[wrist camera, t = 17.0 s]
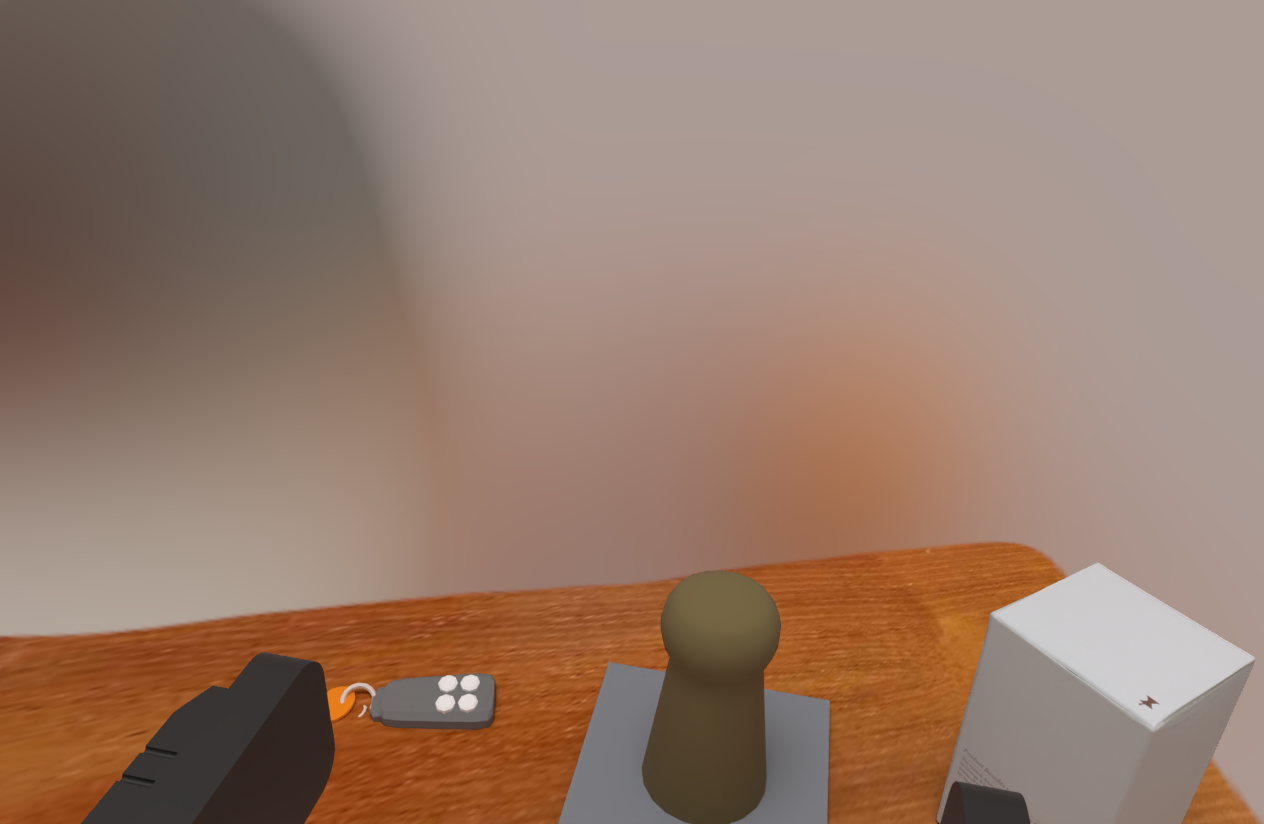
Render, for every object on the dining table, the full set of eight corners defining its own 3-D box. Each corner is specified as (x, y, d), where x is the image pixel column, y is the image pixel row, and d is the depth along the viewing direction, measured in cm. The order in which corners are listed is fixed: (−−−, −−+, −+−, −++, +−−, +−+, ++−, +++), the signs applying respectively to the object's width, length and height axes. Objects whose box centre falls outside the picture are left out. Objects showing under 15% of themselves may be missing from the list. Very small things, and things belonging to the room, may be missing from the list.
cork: (763, 729, 48) (789, 556, 43) (770, 831, 43) (801, 648, 38) (644, 720, 48) (656, 546, 43) (637, 820, 43) (650, 637, 38)
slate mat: (549, 859, 42) (549, 850, 42) (608, 670, 52) (609, 662, 52) (823, 916, 40) (825, 907, 40) (828, 708, 50) (830, 700, 50)
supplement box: (1166, 870, 43) (1268, 660, 37) (1061, 949, 39) (1154, 732, 33) (1031, 756, 48) (1099, 556, 42) (928, 817, 45) (987, 609, 39)
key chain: (497, 683, 52) (496, 662, 51) (493, 736, 49) (492, 715, 48) (253, 688, 51) (249, 668, 50) (233, 743, 47) (227, 722, 47)
